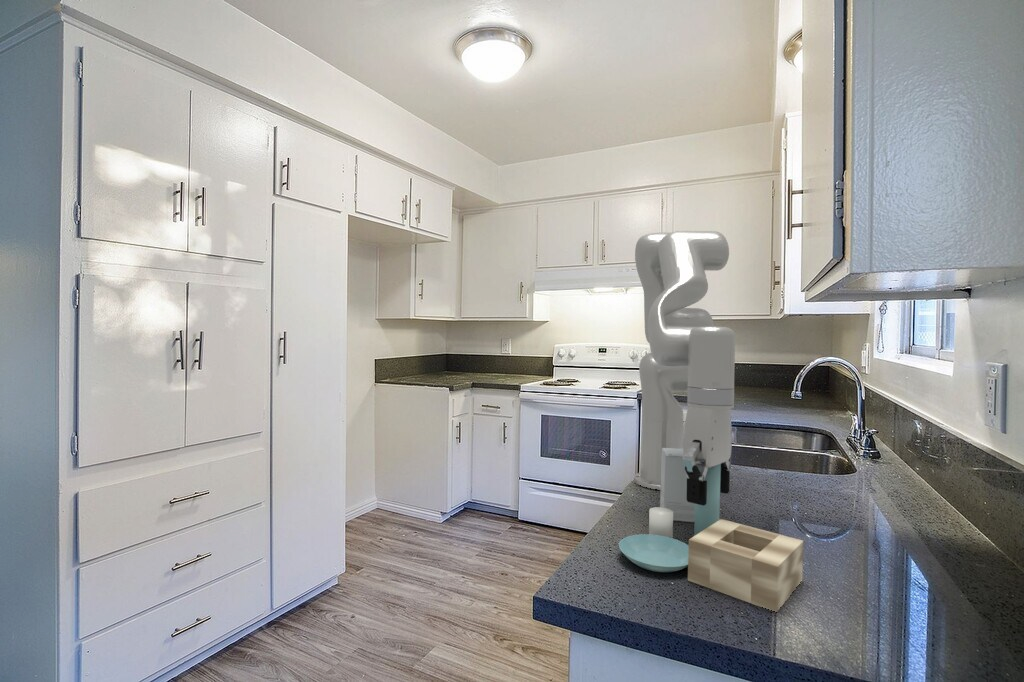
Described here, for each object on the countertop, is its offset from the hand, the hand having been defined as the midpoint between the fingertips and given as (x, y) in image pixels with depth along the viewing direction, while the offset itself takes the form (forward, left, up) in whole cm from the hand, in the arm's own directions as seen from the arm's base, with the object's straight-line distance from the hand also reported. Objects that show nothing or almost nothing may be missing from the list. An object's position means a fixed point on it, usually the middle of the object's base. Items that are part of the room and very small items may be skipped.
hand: (708, 497), depth 89 cm
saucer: (+13, -3, -8) cm, 16 cm away
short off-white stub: (+5, -6, -8) cm, 11 cm away
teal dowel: (0, 0, -8) cm, 8 cm away
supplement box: (-9, -9, -8) cm, 16 cm away
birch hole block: (+10, +10, -8) cm, 16 cm away
